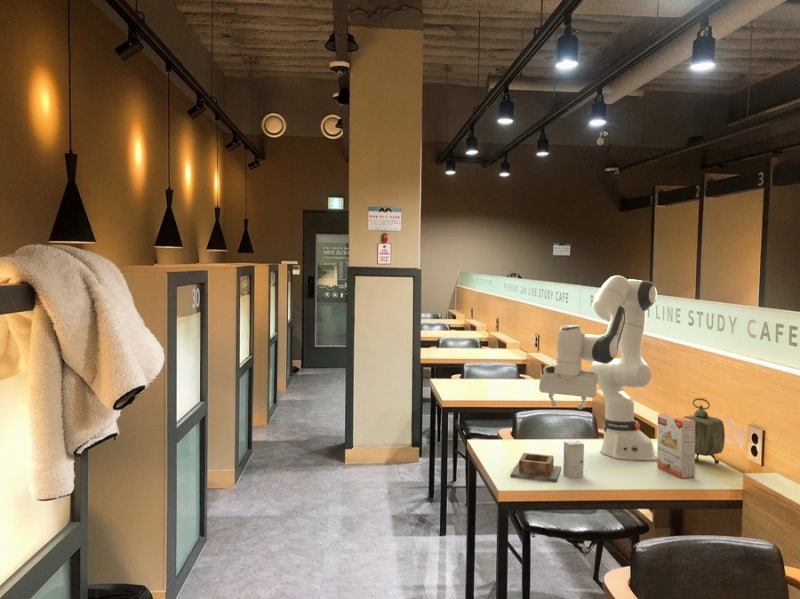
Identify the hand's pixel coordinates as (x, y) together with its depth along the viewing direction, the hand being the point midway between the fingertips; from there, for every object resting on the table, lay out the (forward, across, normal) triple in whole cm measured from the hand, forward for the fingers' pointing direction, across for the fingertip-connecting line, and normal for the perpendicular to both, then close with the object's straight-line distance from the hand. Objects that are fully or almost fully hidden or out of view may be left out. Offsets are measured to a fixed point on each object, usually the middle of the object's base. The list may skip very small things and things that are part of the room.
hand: (566, 407), depth 224 cm
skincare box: (+25, -3, -1) cm, 25 cm away
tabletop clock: (+22, -45, -41) cm, 65 cm away
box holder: (+25, +10, +2) cm, 27 cm away
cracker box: (+23, -36, -21) cm, 48 cm away
